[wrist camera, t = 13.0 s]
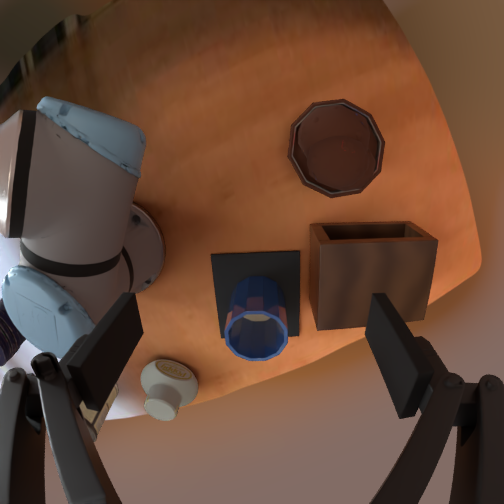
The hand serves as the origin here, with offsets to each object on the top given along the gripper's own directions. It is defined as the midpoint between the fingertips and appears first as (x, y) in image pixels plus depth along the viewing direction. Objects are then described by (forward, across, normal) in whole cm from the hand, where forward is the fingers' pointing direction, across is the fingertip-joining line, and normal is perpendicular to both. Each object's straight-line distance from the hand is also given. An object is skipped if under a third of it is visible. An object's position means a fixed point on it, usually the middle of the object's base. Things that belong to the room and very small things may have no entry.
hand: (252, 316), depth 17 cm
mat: (+29, -1, -15) cm, 32 cm away
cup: (+28, -1, -15) cm, 32 cm away
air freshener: (+29, -17, -32) cm, 46 cm away
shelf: (+29, +15, -8) cm, 34 cm away
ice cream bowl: (+29, +8, +8) cm, 31 cm away
